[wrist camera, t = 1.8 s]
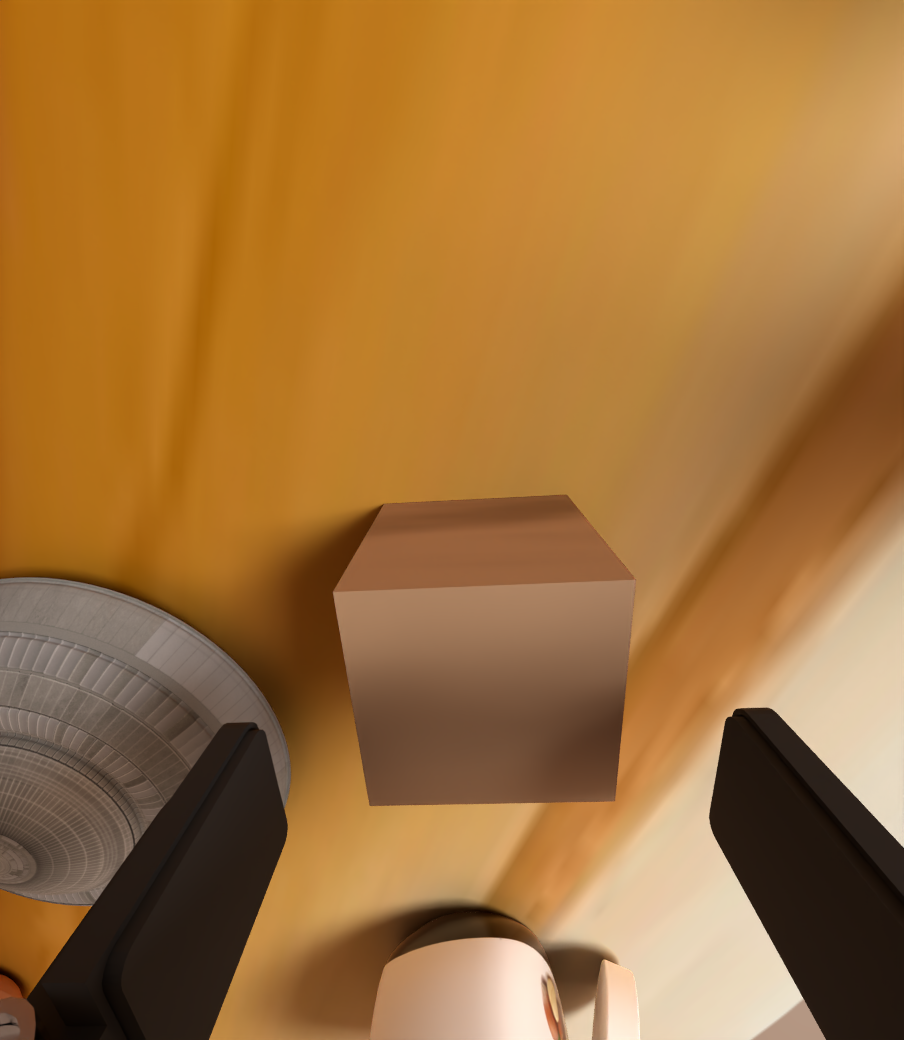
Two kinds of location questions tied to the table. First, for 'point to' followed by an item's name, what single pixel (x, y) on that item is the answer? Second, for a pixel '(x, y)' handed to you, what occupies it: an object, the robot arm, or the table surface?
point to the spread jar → (488, 986)
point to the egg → (8, 988)
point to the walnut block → (486, 653)
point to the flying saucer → (102, 729)
